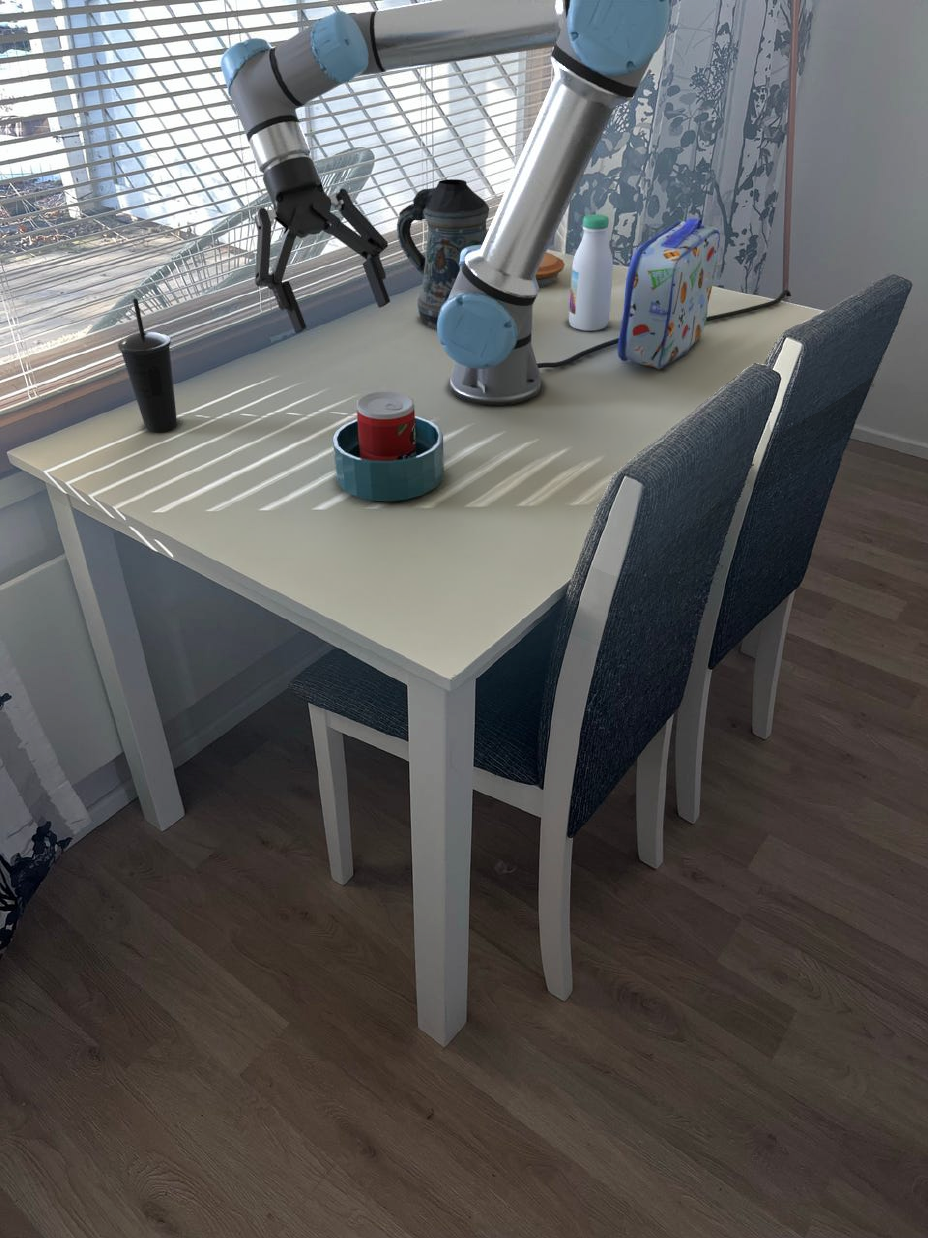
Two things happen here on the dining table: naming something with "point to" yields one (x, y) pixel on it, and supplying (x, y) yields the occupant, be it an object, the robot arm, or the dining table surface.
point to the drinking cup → (150, 375)
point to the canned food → (386, 426)
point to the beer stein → (442, 239)
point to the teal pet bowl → (389, 465)
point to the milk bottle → (591, 277)
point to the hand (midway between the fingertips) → (343, 317)
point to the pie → (548, 270)
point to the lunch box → (668, 293)
